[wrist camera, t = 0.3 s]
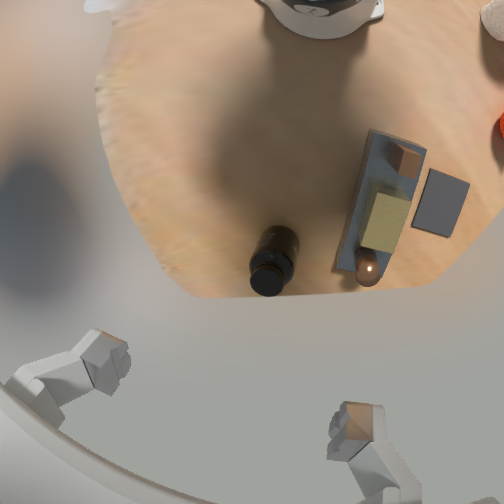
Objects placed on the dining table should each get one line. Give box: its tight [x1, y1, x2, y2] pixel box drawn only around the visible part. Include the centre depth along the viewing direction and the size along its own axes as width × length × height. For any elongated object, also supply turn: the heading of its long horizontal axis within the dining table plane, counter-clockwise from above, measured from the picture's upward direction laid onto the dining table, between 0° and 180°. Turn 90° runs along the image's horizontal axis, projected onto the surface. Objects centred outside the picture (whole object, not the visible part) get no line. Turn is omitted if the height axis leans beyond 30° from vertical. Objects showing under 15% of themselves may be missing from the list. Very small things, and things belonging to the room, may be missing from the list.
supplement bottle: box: [249, 226, 299, 297], centre depth 45 cm, size 7×7×12 cm
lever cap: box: [358, 183, 412, 254], centre depth 37 cm, size 8×5×4 cm, turn 174°
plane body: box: [336, 129, 427, 287], centre depth 37 cm, size 22×8×10 cm, turn 174°
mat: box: [411, 168, 470, 237], centre depth 38 cm, size 10×8×1 cm
